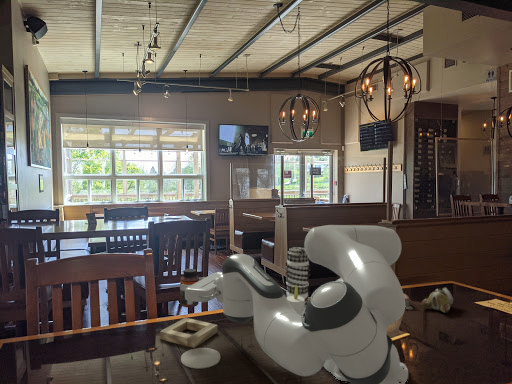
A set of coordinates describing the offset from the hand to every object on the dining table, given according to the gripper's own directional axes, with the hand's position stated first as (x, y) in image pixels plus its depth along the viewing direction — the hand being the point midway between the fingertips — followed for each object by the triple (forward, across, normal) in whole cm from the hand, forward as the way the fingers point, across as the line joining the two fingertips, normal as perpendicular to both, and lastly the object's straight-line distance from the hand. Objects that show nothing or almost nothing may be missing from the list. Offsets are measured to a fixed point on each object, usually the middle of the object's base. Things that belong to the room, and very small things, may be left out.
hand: (187, 283), depth 125 cm
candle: (-31, +18, -17) cm, 40 cm away
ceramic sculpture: (-78, +60, -18) cm, 100 cm away
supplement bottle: (-1, 0, -7) cm, 7 cm away
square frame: (-1, 0, -17) cm, 17 cm away
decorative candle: (-28, +31, -17) cm, 46 cm away
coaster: (-12, -12, -17) cm, 24 cm away
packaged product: (-59, +57, -18) cm, 83 cm away
